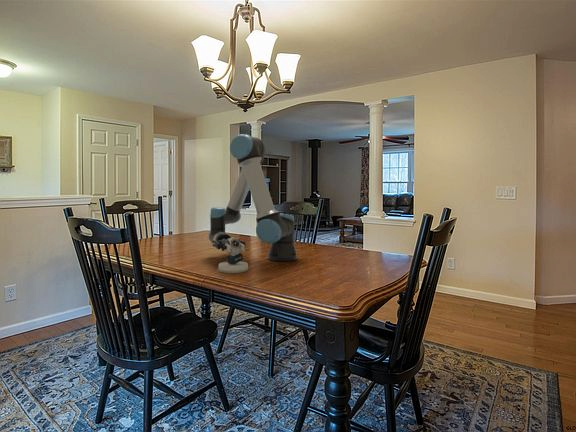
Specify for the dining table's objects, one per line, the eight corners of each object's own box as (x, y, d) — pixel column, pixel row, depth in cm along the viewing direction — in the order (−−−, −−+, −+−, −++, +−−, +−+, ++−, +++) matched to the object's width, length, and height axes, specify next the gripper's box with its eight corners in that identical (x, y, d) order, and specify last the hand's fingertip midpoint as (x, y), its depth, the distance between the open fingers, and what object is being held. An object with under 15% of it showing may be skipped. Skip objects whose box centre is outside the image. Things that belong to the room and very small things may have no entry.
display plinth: (246, 266, 171) (246, 260, 171) (248, 272, 158) (248, 267, 158) (218, 266, 169) (218, 261, 169) (218, 273, 156) (218, 267, 156)
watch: (236, 264, 160) (231, 240, 157) (225, 263, 165) (220, 240, 163) (246, 260, 164) (241, 236, 161) (234, 258, 169) (229, 236, 167)
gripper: (240, 247, 183) (257, 255, 162) (203, 249, 175) (215, 258, 154) (241, 232, 183) (257, 239, 162) (203, 233, 175) (215, 241, 154)
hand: (236, 248), depth 158 cm, fingers closed on watch, 6 cm apart
